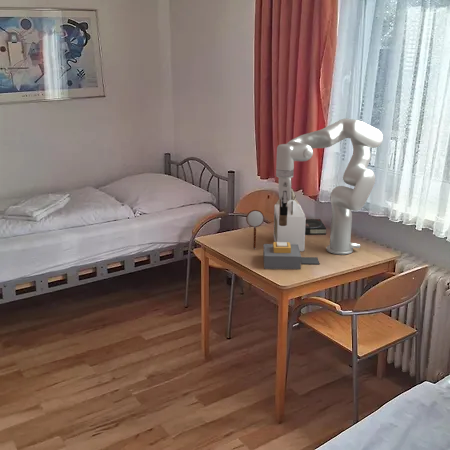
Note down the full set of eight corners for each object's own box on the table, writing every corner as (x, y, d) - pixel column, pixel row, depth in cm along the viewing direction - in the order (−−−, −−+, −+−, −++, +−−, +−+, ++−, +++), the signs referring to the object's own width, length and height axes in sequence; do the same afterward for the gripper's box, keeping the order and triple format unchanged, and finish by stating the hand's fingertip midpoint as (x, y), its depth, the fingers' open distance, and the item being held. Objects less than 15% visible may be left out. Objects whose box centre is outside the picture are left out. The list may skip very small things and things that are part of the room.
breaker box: (297, 256, 256) (298, 239, 254) (300, 269, 241) (301, 251, 238) (263, 256, 257) (263, 238, 254) (264, 268, 242) (264, 250, 239)
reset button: (286, 254, 250) (286, 242, 248) (286, 258, 246) (287, 245, 244) (276, 254, 250) (276, 242, 249) (276, 258, 246) (277, 245, 244)
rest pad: (317, 258, 254) (317, 257, 254) (319, 264, 246) (319, 263, 246) (300, 258, 254) (300, 257, 254) (301, 264, 247) (301, 263, 247)
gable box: (304, 251, 263) (306, 195, 255) (276, 251, 263) (278, 195, 255) (298, 236, 284) (301, 184, 276) (273, 236, 284) (274, 184, 276)
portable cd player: (294, 235, 287) (295, 228, 286) (290, 226, 303) (290, 219, 302) (325, 235, 287) (326, 228, 286) (319, 226, 304) (320, 219, 302)
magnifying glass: (246, 250, 264) (246, 210, 258) (245, 249, 266) (246, 209, 260) (263, 249, 265) (264, 210, 259) (262, 248, 267) (263, 209, 261)
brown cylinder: (286, 223, 245) (287, 191, 241) (287, 226, 242) (288, 193, 237) (278, 223, 245) (279, 191, 241) (279, 225, 242) (280, 193, 237)
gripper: (295, 177, 228) (293, 219, 234) (291, 169, 244) (290, 209, 250) (277, 177, 229) (275, 219, 234) (275, 169, 245) (273, 208, 250)
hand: (283, 213), depth 242 cm, fingers closed on brown cylinder, 3 cm apart
